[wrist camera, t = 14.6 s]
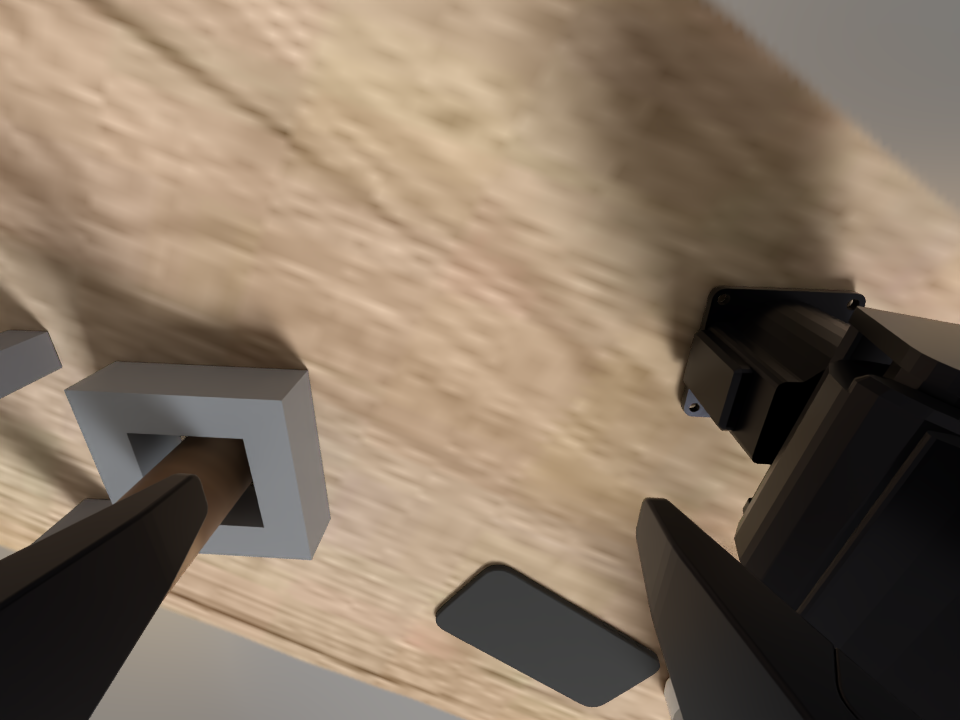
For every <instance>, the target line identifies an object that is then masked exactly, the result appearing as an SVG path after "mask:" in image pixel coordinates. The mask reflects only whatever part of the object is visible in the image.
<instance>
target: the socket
mask: <svg viewBox="0 0 960 720" xmlns="http://www.w3.org/2000/svg"><path fill="white" fill-rule="evenodd" d="M64 391H65V394H66V396H67V398H68V401H69V403H70V405H71V408H72V410H73V412H74V415H75V417H76V420H77V422H78V424H79V427H80V429H81V431H82V434H83V436H84V438H85V441H86V443H87V446H88V448H89V450H90V453H91V455H92V457H93V460H94V462H95V464H96V467H97V469H98V472H99V474H100V476H101V479H102V481H103V483H104V486H105V488H106V490H107V493H108V495H109V498H110V500H111V502H112V504H114V503H116V502H117V501H118V500H119V499H120V498H121V497H122V496H123V495H124V494H125V493H127V492H128V491H129V490H130V489H131V488H132V487H133V486H134V485H135V484H136V483H137V482H138V481H140V480H141V479H142V478H143V477H144V476H145V475H146V474H147V473H148V472H149V471H150V470H152V469H153V468H154V467H155V466H156V465H157V464H158V463H159V462H160V461H161V460H162V459H163V458H165V457H166V456H167V455H168V454H169V453H170V452H171V451H172V450H173V449H174V448H175V447H177V446H178V445H179V444H180V443H181V442H182V441H181V437H180V436H196V437H216V438H235V439H243V441H244V445H245V449H246V454H247V458H248V462H249V466H250V470H251V474H252V479H253V483H254V486H248V488H247V489H246V490H245V492H244V493H243V494H242V496H241V497H240V498H239V500H238V501H237V502H236V504H235V505H234V506H233V508H232V509H231V510H230V512H229V513H228V514H227V516H226V517H225V518H224V520H223V521H222V522H221V524H220V525H219V526H218V528H217V529H216V530H215V532H214V533H213V534H212V536H211V537H210V538H209V540H208V541H207V542H206V544H205V545H204V546H203V548H202V549H201V550H200V552H199V553H201V554H218V555H235V556H252V557H268V558H285V559H302V560H312V558H313V556H314V554H315V551H316V549H317V547H318V545H319V543H320V541H321V539H322V536H323V534H324V532H325V530H326V528H327V526H328V523H329V521H330V519H331V517H330V511H329V504H328V498H327V491H326V485H325V478H324V472H323V465H322V459H321V452H320V446H319V439H318V433H317V426H316V419H315V413H314V406H313V400H312V393H311V387H310V380H309V374H308V370H290V369H268V368H247V367H225V366H204V365H182V364H161V363H139V362H118V361H115V362H113V363H112V364H110V365H108V366H106V367H104V368H103V369H101V370H99V371H97V372H95V373H94V374H92V375H90V376H88V377H87V378H85V379H83V380H81V381H79V382H78V383H76V384H74V385H72V386H70V387H69V388H67V389H65V390H64Z"/></svg>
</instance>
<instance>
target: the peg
mask: <svg viewBox="0 0 960 720" xmlns="http://www.w3.org/2000/svg"><path fill="white" fill-rule="evenodd" d="M178 473H183V474H195V475H197V476H198V477H199V478H200V480H201V483H202V486H203V490H204V493H205V496H206V500H207V503H208V513H207V516H206V518H205V520H204V522H203V524H202V526H201V528H200V530H199V532H198V534H197V536H196V538H195V540H194V542H193V544H192V546H191V548H190V550H189V552H188V554H187V556H186V558H185V560H184V562H183V564H182V566H181V568H180V570H179V572H178V574H177V576H176V578H175V580H174V582H173V584H172V586H171V587H170V589H169V591H168V593H169V592H170V590H171V589H172V588H173V586H174V585H175V584H176V582H177V581H178V580H179V578H180V577H181V576H182V574H183V573H184V572H185V570H186V569H187V568H188V566H189V565H190V564H191V562H192V561H193V560H194V558H195V557H196V556H197V554H198V553H199V552H200V550H201V549H202V548H203V546H204V545H205V544H206V542H207V541H208V540H209V538H210V537H211V536H212V534H213V533H214V532H215V530H216V529H217V528H218V526H219V525H220V524H221V522H222V521H223V520H224V518H225V517H226V516H227V514H228V513H229V512H230V510H231V509H232V508H233V506H234V505H235V504H236V502H237V501H238V500H239V498H240V497H241V496H242V494H243V493H244V492H245V490H246V489H247V488H248V486H249V485H250V484H251V482H252V481H253V479H252V474H251V470H250V466H249V462H248V458H247V454H246V449H245V445H244V441H243V439H235V438H216V437H196V436H187V437H186V438H185V439H184V440H183V441H182V442H181V443H180V444H179V445H178V446H177V447H175V448H174V449H173V450H172V451H171V452H170V453H169V454H168V455H167V456H166V457H165V458H163V459H162V460H161V461H160V462H159V463H158V464H157V465H156V466H155V467H154V468H153V469H152V470H150V471H149V472H148V473H147V474H146V475H145V476H144V477H143V478H142V479H141V480H140V481H138V482H137V483H136V484H135V485H134V486H133V487H132V488H131V489H130V490H129V491H128V492H127V493H125V494H124V495H123V496H122V497H121V498H120V499H119V500H118V501H120V500H122V499H124V498H127V497H129V496H131V495H133V494H135V493H137V492H139V491H141V490H143V489H145V488H147V487H149V486H151V485H153V484H155V483H157V482H159V481H161V480H163V479H165V478H167V477H169V476H171V475H173V474H178ZM118 501H117V502H118ZM168 593H167V594H168ZM167 594H166V596H167ZM166 596H165V597H166ZM163 600H164V599H163Z"/></svg>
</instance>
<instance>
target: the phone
mask: <svg viewBox="0 0 960 720" xmlns="http://www.w3.org/2000/svg"><path fill="white" fill-rule="evenodd" d="M436 623H437V625H438V626H439V627H440V628H441V629H443V630H444V631H446V632H448V633H450V634H451V635H453V636H455V637H457V638H459V639H461V640H463V641H464V642H466V643H468V644H470V645H472V646H474V647H476V648H477V649H479V650H481V651H483V652H485V653H487V654H489V655H490V656H492V657H494V658H496V659H498V660H500V661H502V662H504V663H505V664H507V665H509V666H511V667H513V668H515V669H517V670H518V671H520V672H522V673H524V674H526V675H528V676H530V677H531V678H533V679H535V680H537V681H539V682H541V683H543V684H544V685H546V686H548V687H550V688H552V689H554V690H556V691H557V692H559V693H561V694H563V695H565V696H567V697H569V698H570V699H572V700H574V701H576V702H578V703H580V704H582V705H584V706H588V707H598V706H601V705H603V704H605V703H607V702H609V701H610V700H612V699H614V698H615V697H617V696H619V695H620V694H622V693H624V692H625V691H627V690H629V689H630V688H632V687H634V686H635V685H637V684H639V683H640V682H642V681H644V680H645V679H647V678H648V677H650V676H652V675H653V674H655V673H656V672H657V671H658V670H659V668H660V664H659V660H658V657H657V655H656V654H655V653H654V652H653V651H651V650H649V649H648V648H646V647H644V646H643V645H641V644H639V643H638V642H636V641H634V640H632V639H631V638H630V637H628V636H626V635H625V634H623V633H621V632H620V631H617V630H615V629H614V628H613V627H611V626H610V625H608V624H606V623H605V622H602V621H600V620H598V619H597V618H595V617H593V616H592V615H590V614H588V613H587V612H585V611H583V610H581V609H580V608H578V607H576V606H575V605H573V604H571V603H570V602H568V601H566V600H564V599H563V598H561V597H559V596H558V595H556V594H554V593H553V592H551V591H549V590H548V589H546V588H544V587H542V586H541V585H539V584H537V583H536V582H534V581H532V580H531V579H529V578H527V577H525V576H524V575H522V574H520V573H519V572H517V571H515V570H513V569H512V568H510V567H507V566H504V565H493V566H490V567H487V568H486V569H484V570H483V571H482V572H481V573H479V574H478V575H477V576H476V577H475V578H474V579H473V580H471V581H470V582H469V583H468V584H467V585H466V586H465V587H463V588H462V589H461V590H460V591H459V592H458V593H457V594H456V595H454V596H453V597H452V598H451V599H450V600H449V601H448V602H446V603H445V604H444V605H443V606H442V607H441V608H440V609H439V610H438V612H437V615H436Z"/></svg>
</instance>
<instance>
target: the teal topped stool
mask: <svg viewBox="0 0 960 720" xmlns="http://www.w3.org/2000/svg"><path fill="white" fill-rule="evenodd" d="M60 368H62V365H61V363H60V361H59V358H58V356H57V353H56V351H55V349H54V346H53V344H52V341H51V339H50V337H49V334H48V332H44V331H21V330H7V331H5V332H2V333H0V399H1V398H3V397H5V396H7V395H9V394H10V393H12V392H14V391H16V390H18V389H20V388H22V387H24V386H26V385H28V384H30V383H32V382H34V381H36V380H38V379H40V378H42V377H44V376H46V375H48V374H50V373H52V372H54V371H56V370H58V369H60ZM110 505H112V502H111V500H100V499H84V500H83V501H82V502H81V503H80V504H79V505H77V506H76V507H75V508H74V509H73V510H71V511H70V512H69V513H68V514H67V515H65V516H64V517H63V518H62V519H61V520H60V521H58V522H57V523H56V524H55V525H54V526H52V527H51V528H50V529H49V530H48V531H47V532H45V533H44V534H43V535H42V536H41V537H39V538H38V539H37V540H36V541H35V542H34V543H36V542H38V541H40V540H42V539H44V538H46V537H48V536H50V535H52V534H54V533H56V532H58V531H60V530H62V529H64V528H66V527H68V526H70V525H72V524H74V523H76V522H78V521H80V520H82V519H84V518H86V517H88V516H90V515H92V514H94V513H96V512H98V511H100V510H102V509H104V508H106V507H108V506H110ZM34 543H32V544H34ZM32 544H31V545H32Z"/></svg>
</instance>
